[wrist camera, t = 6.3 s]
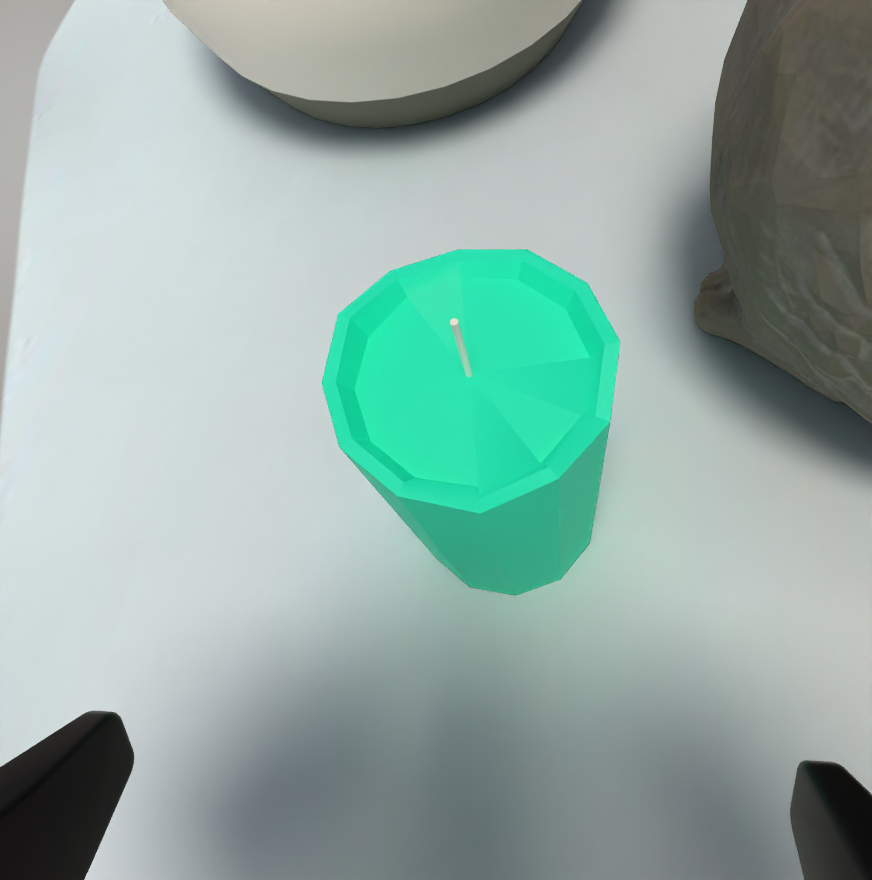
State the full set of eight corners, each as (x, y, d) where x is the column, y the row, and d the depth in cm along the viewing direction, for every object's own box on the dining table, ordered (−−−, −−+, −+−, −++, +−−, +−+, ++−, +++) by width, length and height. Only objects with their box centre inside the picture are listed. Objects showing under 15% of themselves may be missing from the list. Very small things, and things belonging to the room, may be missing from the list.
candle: (392, 550, 23) (233, 406, 12) (467, 405, 24) (388, 158, 13) (553, 627, 21) (544, 542, 10) (622, 464, 22) (681, 234, 11)
